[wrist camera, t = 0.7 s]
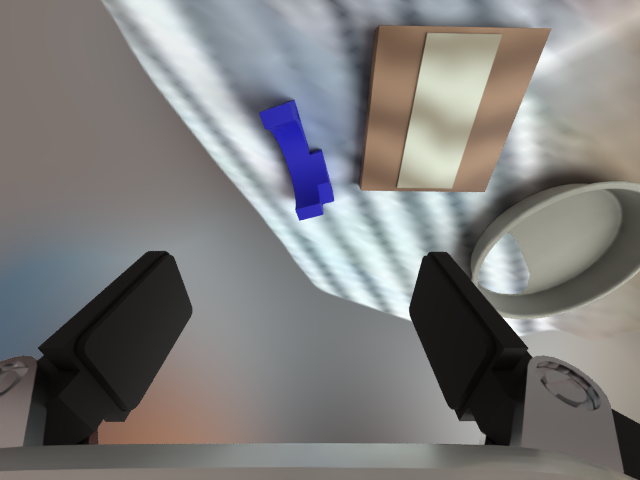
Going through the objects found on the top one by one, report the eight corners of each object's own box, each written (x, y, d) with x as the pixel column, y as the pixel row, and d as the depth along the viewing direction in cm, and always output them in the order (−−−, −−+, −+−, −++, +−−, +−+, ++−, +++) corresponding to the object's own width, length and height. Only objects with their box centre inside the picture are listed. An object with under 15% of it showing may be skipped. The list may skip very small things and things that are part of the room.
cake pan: (517, 154, 31) (545, 164, 27) (677, 188, 33) (724, 201, 29) (433, 291, 44) (444, 310, 40) (552, 308, 46) (573, 328, 42)
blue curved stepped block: (333, 192, 33) (335, 211, 28) (302, 200, 34) (299, 220, 29) (307, 95, 27) (304, 97, 22) (270, 108, 28) (259, 112, 23)
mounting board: (375, 29, 24) (380, 24, 22) (535, 32, 24) (553, 28, 22) (358, 185, 32) (361, 191, 31) (476, 186, 33) (485, 192, 31)
